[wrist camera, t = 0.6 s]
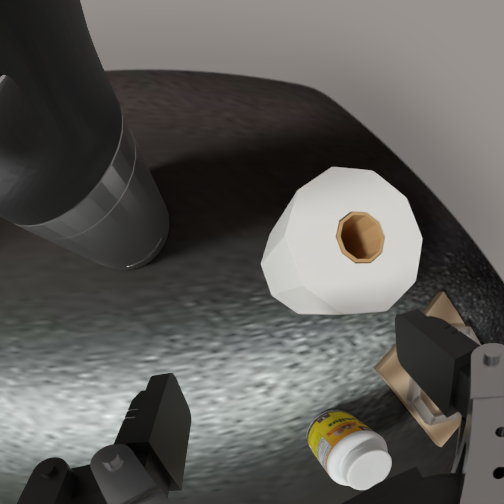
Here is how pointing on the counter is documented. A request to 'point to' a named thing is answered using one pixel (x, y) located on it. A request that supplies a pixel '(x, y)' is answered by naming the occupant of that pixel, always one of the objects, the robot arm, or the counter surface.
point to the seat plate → (409, 389)
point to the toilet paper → (343, 245)
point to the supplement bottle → (349, 449)
